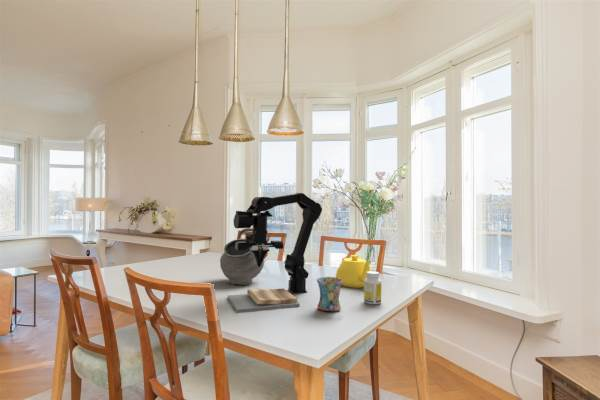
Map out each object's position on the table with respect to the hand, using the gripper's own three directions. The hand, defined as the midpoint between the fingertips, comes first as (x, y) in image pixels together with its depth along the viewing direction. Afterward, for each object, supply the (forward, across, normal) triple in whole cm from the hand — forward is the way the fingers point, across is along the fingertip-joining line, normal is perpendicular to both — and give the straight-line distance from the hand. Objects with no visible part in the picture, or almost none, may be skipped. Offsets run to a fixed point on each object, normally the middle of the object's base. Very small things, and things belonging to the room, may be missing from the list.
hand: (259, 266), depth 139 cm
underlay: (+12, 0, +8) cm, 14 cm away
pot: (+12, +1, -27) cm, 30 cm away
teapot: (+12, -49, -7) cm, 51 cm away
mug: (+12, -20, +25) cm, 34 cm away
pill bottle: (+12, -40, +21) cm, 47 cm away
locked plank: (+12, -8, +8) cm, 16 cm away
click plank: (+11, 0, +8) cm, 13 cm away
